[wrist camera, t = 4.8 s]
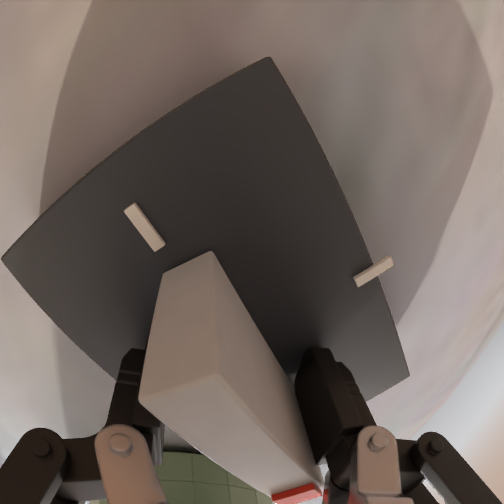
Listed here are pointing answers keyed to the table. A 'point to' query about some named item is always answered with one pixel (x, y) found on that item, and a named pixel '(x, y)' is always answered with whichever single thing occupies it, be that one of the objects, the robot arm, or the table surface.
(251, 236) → the rotary switch dial
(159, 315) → the red tipped lever
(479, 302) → the table surface
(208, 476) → the basin
